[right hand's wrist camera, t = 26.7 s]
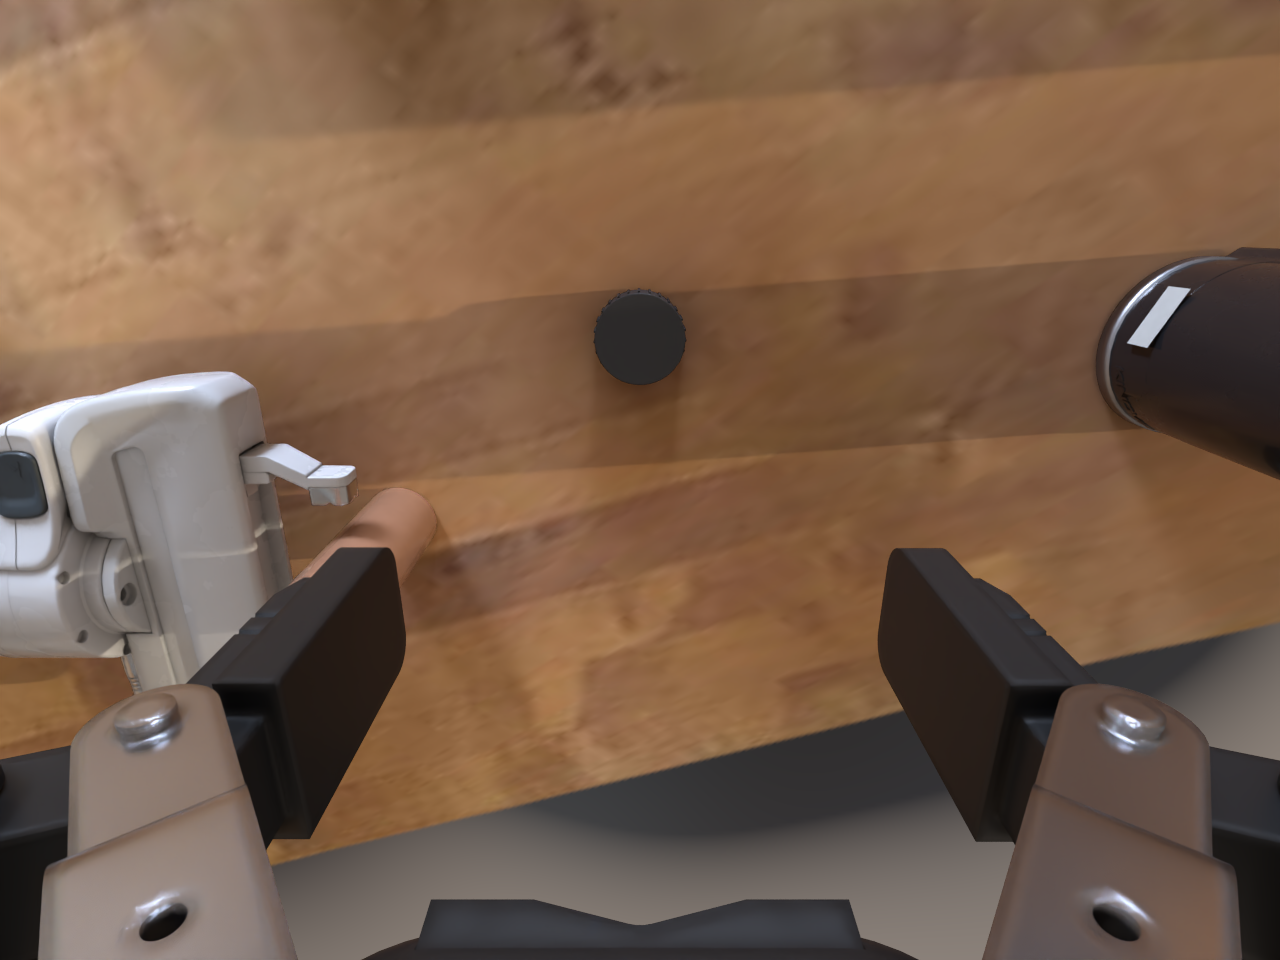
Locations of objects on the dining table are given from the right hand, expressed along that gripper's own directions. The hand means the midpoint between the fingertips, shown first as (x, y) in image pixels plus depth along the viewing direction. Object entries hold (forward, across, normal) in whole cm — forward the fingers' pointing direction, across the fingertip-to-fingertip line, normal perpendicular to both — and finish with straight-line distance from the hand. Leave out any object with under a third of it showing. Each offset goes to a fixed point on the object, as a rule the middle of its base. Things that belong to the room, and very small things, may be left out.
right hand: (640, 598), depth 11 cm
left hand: (+22, +14, +11) cm, 28 cm away
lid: (+26, 0, 0) cm, 26 cm away
